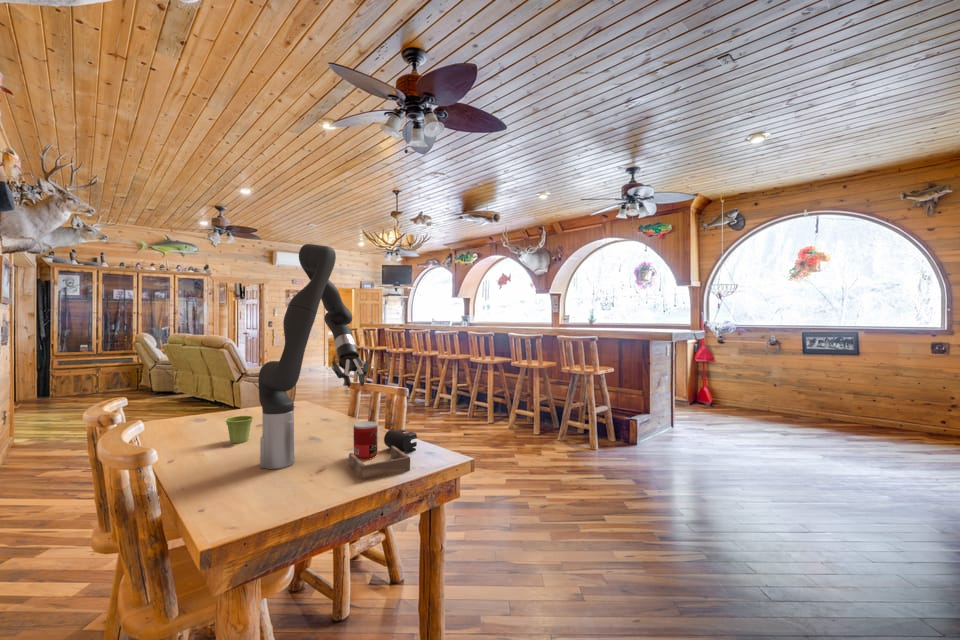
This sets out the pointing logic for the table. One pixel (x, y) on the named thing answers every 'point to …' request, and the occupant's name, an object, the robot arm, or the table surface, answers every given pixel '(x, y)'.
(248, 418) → the plant pot
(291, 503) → the table surface
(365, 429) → the canned food
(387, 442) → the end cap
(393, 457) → the tray
